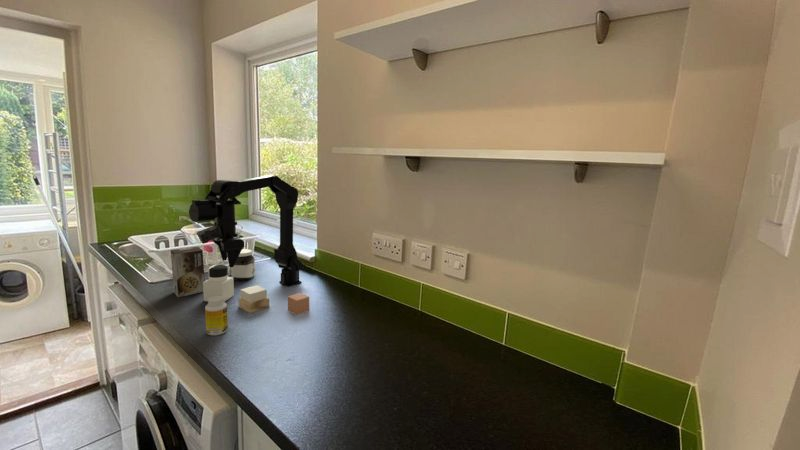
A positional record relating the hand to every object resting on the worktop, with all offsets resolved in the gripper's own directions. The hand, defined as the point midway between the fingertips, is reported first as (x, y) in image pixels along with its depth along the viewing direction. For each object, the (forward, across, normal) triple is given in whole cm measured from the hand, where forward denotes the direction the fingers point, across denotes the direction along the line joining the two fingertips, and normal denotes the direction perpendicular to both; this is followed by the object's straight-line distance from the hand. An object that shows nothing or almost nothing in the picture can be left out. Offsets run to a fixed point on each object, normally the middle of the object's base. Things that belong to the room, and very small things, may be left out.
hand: (227, 263), depth 118 cm
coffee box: (+14, -18, -9) cm, 25 cm away
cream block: (+11, +8, +6) cm, 15 cm away
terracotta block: (+14, +19, +17) cm, 29 cm away
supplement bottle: (+14, +20, -8) cm, 26 cm away
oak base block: (+14, +8, +6) cm, 17 cm away
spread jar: (+14, -25, +11) cm, 31 cm away
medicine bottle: (+14, -6, -2) cm, 16 cm away
